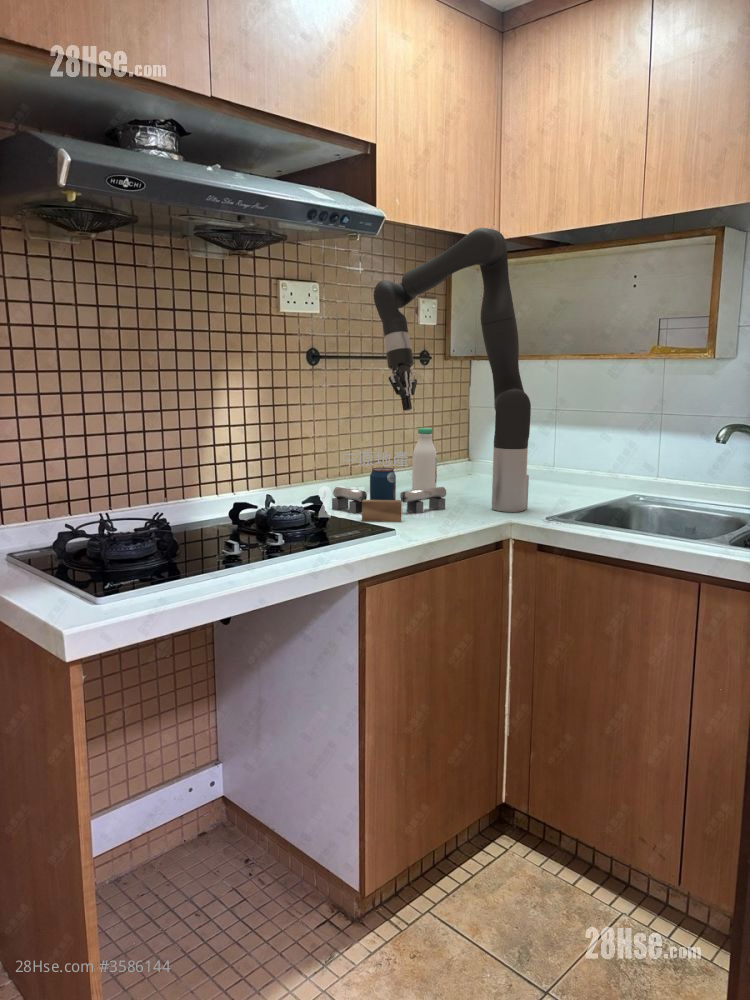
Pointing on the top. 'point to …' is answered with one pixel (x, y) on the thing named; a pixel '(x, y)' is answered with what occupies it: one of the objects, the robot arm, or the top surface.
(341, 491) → the shaft
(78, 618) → the top surface
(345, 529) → the top surface
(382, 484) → the soda can
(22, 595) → the top surface
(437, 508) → the shaft
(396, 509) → the block
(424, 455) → the milk bottle
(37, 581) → the top surface
